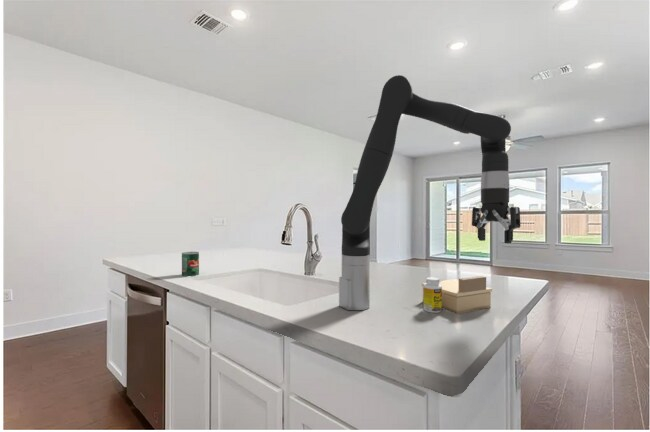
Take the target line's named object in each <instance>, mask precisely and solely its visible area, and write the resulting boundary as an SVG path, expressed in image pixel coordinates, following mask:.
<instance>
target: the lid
mask: <svg viewBox="0 0 650 432" xmlns="http://www.w3.org/2000/svg"><path fill="white" fill-rule="evenodd" d="M424 284H426V282H422V283H421V287H422V288H423V287H424ZM440 285H441V286H442V292H443V293H446V294H449V295H452V296H456V297H460V296H466V295H473V294H480V293H486V292H492V293H493V288H492V287H487V276H484V275H478V276H470V277H459V278H458V279H455V278H453V279H445V280H440Z"/></svg>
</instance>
